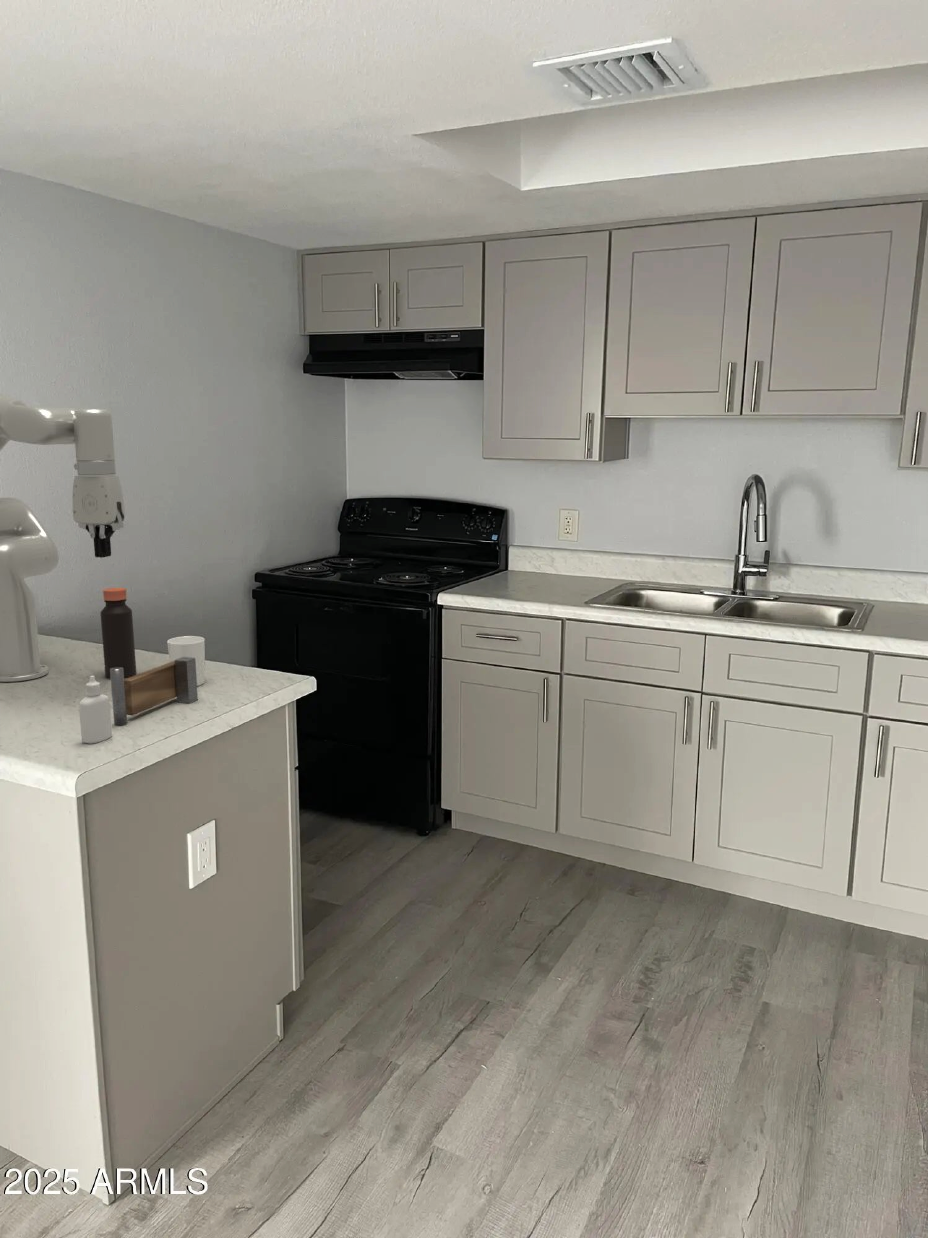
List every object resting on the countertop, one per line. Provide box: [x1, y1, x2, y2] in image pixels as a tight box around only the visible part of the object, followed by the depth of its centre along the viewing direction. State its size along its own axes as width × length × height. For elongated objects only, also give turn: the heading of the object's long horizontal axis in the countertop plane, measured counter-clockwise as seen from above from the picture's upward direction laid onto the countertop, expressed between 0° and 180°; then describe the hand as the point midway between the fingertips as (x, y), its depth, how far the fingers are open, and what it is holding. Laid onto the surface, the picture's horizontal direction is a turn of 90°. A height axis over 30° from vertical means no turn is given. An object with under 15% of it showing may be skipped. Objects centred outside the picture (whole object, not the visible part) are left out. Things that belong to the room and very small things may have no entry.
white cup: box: [166, 635, 206, 687], centre depth 213 cm, size 8×8×10 cm
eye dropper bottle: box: [78, 675, 113, 744], centre depth 176 cm, size 4×6×12 cm
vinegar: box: [100, 587, 137, 679], centre depth 219 cm, size 7×7×20 cm
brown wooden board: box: [124, 661, 177, 716], centre depth 195 cm, size 2×16×7 cm, turn 160°
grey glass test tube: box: [110, 667, 128, 727], centre depth 185 cm, size 2×2×11 cm
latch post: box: [174, 657, 199, 704], centre depth 200 cm, size 3×3×9 cm
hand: (103, 556), depth 204 cm, fingers closed
